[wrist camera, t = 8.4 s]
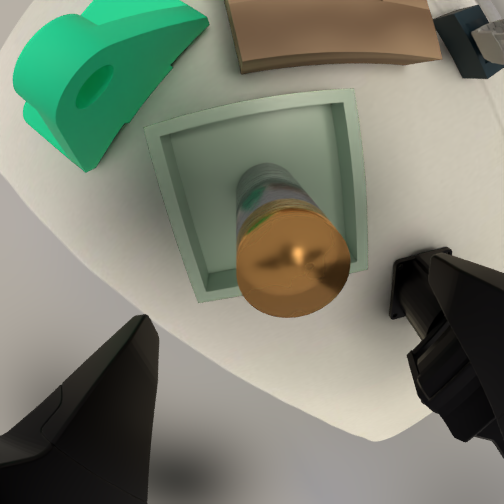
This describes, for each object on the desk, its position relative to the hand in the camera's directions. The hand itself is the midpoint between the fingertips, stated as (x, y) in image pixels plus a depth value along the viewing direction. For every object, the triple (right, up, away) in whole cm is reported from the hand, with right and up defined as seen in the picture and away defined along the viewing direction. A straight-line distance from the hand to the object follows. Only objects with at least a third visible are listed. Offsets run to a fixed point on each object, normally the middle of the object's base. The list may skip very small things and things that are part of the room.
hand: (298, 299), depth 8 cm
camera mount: (-11, +14, +7) cm, 19 cm away
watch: (+16, +19, +5) cm, 25 cm away
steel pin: (0, +5, +11) cm, 12 cm away
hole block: (+3, +19, +4) cm, 20 cm away
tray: (0, +6, +11) cm, 12 cm away
